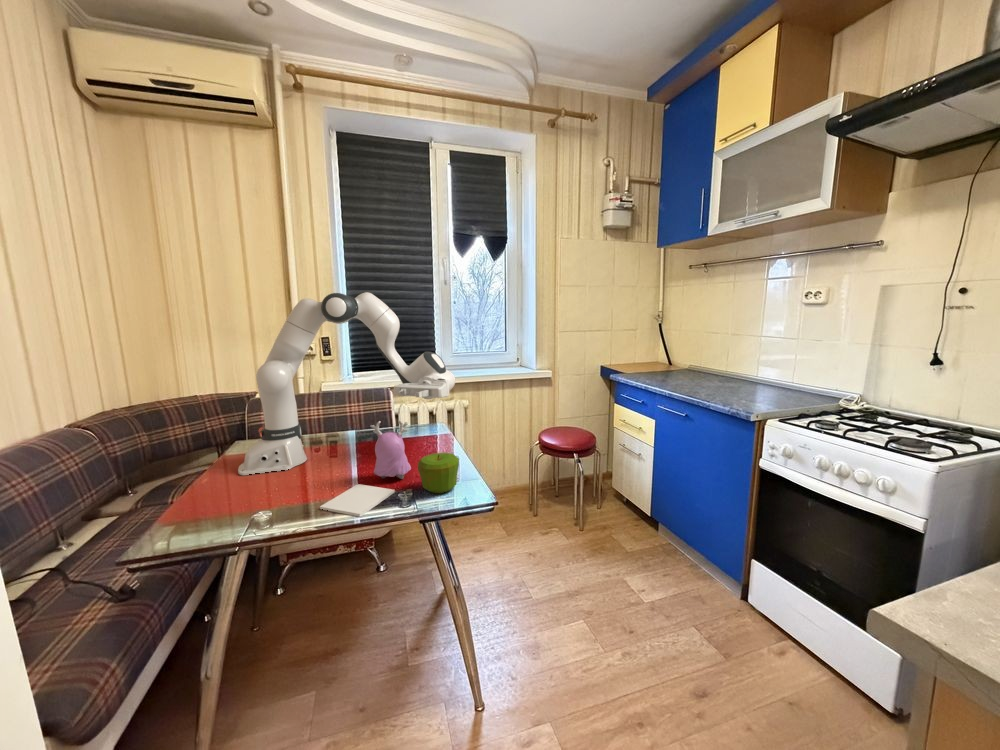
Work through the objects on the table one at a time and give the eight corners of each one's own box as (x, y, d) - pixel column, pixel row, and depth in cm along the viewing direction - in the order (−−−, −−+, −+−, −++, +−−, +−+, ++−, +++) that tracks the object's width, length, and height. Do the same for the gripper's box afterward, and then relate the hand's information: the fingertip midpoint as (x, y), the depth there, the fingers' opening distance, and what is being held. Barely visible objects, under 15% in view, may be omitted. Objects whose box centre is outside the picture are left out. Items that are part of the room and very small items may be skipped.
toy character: (415, 472, 143) (411, 416, 139) (405, 485, 132) (401, 424, 129) (381, 472, 144) (377, 416, 141) (369, 484, 134) (364, 424, 131)
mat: (358, 486, 132) (357, 484, 132) (394, 492, 127) (394, 489, 127) (320, 509, 118) (319, 506, 118) (360, 516, 113) (359, 513, 113)
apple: (452, 477, 137) (450, 445, 135) (466, 491, 126) (464, 456, 125) (415, 486, 132) (412, 452, 130) (426, 501, 121) (424, 464, 119)
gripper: (405, 378, 161) (383, 384, 148) (452, 380, 154) (433, 386, 141) (406, 394, 162) (384, 401, 149) (452, 396, 155) (434, 404, 142)
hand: (408, 394), depth 145 cm, fingers open, 6 cm apart
